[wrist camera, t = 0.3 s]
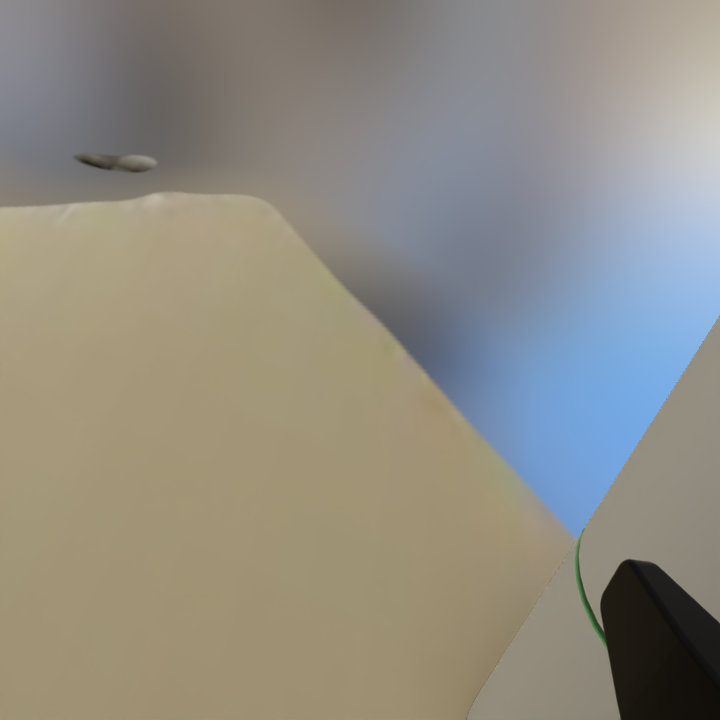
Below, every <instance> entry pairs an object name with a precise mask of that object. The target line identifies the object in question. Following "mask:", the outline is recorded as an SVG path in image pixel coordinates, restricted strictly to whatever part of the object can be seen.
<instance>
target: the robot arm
mask: <svg viewBox="0 0 720 720" xmlns="http://www.w3.org/2000/svg"><path fill="white" fill-rule="evenodd" d="M600 611H601V618H602V623H603V629H604V634H605V639H606V645H607V650H608V656H609V661H610V667H611V672H612V678H613V683H614V689H615V694H616V700H617V704H618V709H619V714H620V718H621V720H720V623H719V622H718V621H717V620H716V619H715V618H714V617H713V616H712V615H711V614H710V613H709V612H708V611H706V610H705V609H704V608H703V607H702V606H701V605H700V604H699V603H698V602H697V601H696V600H695V599H693V598H692V597H691V596H690V595H689V594H688V593H687V592H686V591H685V590H684V589H683V588H682V587H681V586H679V585H678V584H677V583H676V582H675V581H674V580H673V579H672V578H671V577H670V576H669V575H668V574H667V573H665V572H664V571H663V570H662V569H661V568H660V567H659V566H658V565H656V564H655V563H652V562H649V561H641V560H633V559H626V560H624V561H623V562H621V563H620V565H619V566H618V568H617V570H616V571H615V573H614V575H613V577H612V578H611V580H610V582H609V583H608V585H607V587H606V588H605V590H604V592H603V594H602V597H601V602H600Z"/></svg>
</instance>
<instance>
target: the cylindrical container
mask: <svg viewBox="0 0 720 720" xmlns="http://www.w3.org/2000/svg"><path fill="white" fill-rule="evenodd" d="M626 559H633V560H641V561H649V562H652V563H655V564H656V565H658V566H659V567H660V568H661V569H662V570H663V571H664V572H665V573H667V574H668V575H669V576H670V577H671V578H672V579H673V580H674V581H675V582H676V583H677V584H678V585H679V586H681V587H682V588H683V589H684V590H685V591H686V592H687V593H688V594H689V595H690V596H691V597H692V598H693V599H695V600H696V601H697V602H698V603H699V604H700V605H701V606H702V607H703V608H704V609H705V610H706V611H708V612H709V613H710V614H711V615H712V616H713V617H714V618H715V619H716V620H717V621H718V622H719V623H720V316H719V318H718V319H717V321H716V322H715V324H714V325H713V327H712V329H711V330H710V332H709V333H708V335H707V337H706V338H705V340H704V341H703V343H702V344H701V346H700V347H699V349H698V351H697V352H696V354H695V355H694V357H693V358H692V360H691V361H690V363H689V365H688V366H687V368H686V369H685V371H684V372H683V374H682V376H681V377H680V379H679V380H678V382H677V384H676V385H675V387H674V388H673V390H672V391H671V393H670V394H669V396H668V398H667V399H666V401H665V402H664V404H663V405H662V407H661V409H660V410H659V412H658V413H657V415H656V416H655V418H654V420H653V421H652V423H651V424H650V426H649V427H648V429H647V431H646V432H645V434H644V435H643V437H642V438H641V440H640V442H639V443H638V445H637V446H636V448H635V449H634V451H633V453H632V454H631V456H630V457H629V459H628V460H627V462H626V463H625V465H624V467H623V468H622V470H621V471H620V473H619V474H618V476H617V478H616V479H615V481H614V482H613V484H612V485H611V487H610V489H609V490H608V492H607V493H606V495H605V497H604V498H603V499H602V501H601V503H600V504H599V506H598V508H597V509H596V510H595V512H594V514H593V515H592V517H591V518H590V520H589V522H588V523H587V525H586V527H585V528H584V530H583V531H582V533H581V534H580V536H579V537H578V539H577V540H576V542H575V543H574V545H573V547H572V548H571V550H570V551H569V553H568V554H567V556H566V557H565V559H564V561H563V562H562V564H561V565H560V567H559V568H558V570H557V572H556V573H555V575H554V576H553V578H552V579H551V581H550V583H549V584H548V586H547V587H546V589H545V590H544V592H543V594H542V595H541V597H540V598H539V600H538V601H537V603H536V604H535V606H534V608H533V609H532V611H531V612H530V614H529V615H528V617H527V619H526V620H525V622H524V623H523V625H522V626H521V628H520V630H519V631H518V633H517V634H516V636H515V637H514V639H513V640H512V642H511V644H510V645H509V647H508V648H507V650H506V651H505V653H504V655H503V656H502V658H501V659H500V661H499V662H498V664H497V666H496V667H495V669H494V670H493V672H492V673H491V675H490V677H489V678H488V680H487V681H486V683H485V684H484V686H483V687H482V689H481V691H480V692H479V694H478V695H477V697H476V699H475V701H474V703H473V705H472V707H471V709H470V711H469V713H468V717H467V720H621V718H620V714H619V709H618V704H617V700H616V694H615V689H614V683H613V678H612V672H611V667H610V661H609V656H608V650H607V645H606V639H605V634H604V629H603V623H602V618H601V611H600V602H601V597H602V594H603V592H604V590H605V588H606V587H607V585H608V583H609V582H610V580H611V578H612V577H613V575H614V573H615V571H616V570H617V568H618V566H619V565H620V563H621V562H623V561H624V560H626Z"/></svg>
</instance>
